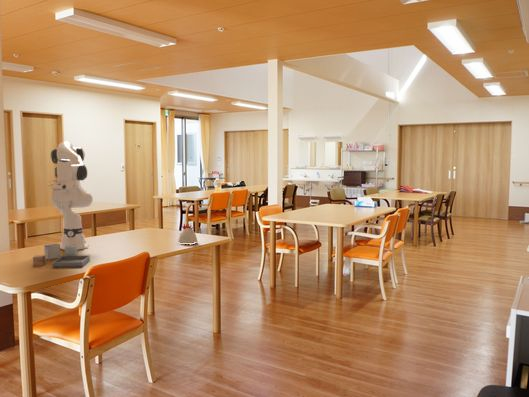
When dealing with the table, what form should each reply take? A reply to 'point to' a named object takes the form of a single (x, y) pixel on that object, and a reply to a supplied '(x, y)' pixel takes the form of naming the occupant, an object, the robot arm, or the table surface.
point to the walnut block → (38, 260)
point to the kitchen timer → (187, 235)
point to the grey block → (71, 250)
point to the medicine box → (52, 251)
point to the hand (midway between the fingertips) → (65, 208)
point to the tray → (70, 261)
